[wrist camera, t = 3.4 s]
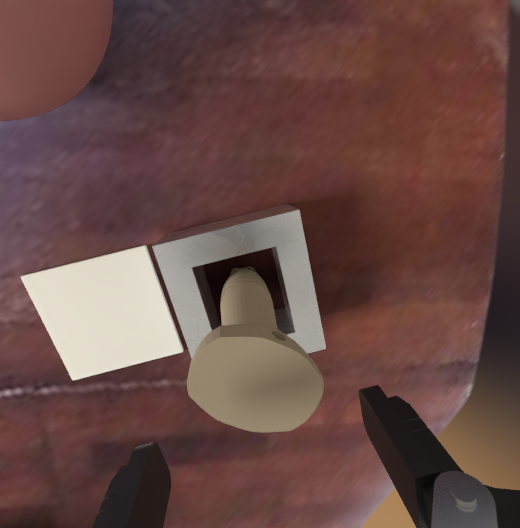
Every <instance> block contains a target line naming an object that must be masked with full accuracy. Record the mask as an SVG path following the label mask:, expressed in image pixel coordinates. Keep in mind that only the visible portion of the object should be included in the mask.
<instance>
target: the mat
mask: <svg viewBox="0 0 520 528" xmlns="http://www.w3.org/2000/svg"><path fill="white" fill-rule="evenodd" d="M21 279H22V281H23V283H24V285H25V287H26V289H27V291H28V293H29V295H30V297H31V299H32V301H33V303H34V305H35V307H36V309H37V311H38V313H39V315H40V317H41V319H42V321H43V323H44V325H45V327H46V329H47V331H48V333H49V335H50V337H51V339H52V341H53V343H54V345H55V347H56V349H57V351H58V353H59V355H60V356H61V358H62V360H63V362H64V364H65V366H66V368H67V370H68V372H69V374H70V376H71V378H72V380H77V379H81V378H84V377H88V376H92V375H96V374H100V373H104V372H108V371H111V370H115V369H119V368H123V367H127V366H131V365H135V364H138V363H142V362H146V361H150V360H154V359H158V358H162V357H166V356H169V355H173V354H177V353H181V352H183V351H184V349H183V346H182V343H181V341H180V338H179V335H178V332H177V329H176V327H175V324H174V321H173V318H172V315H171V313H170V310H169V307H168V304H167V302H166V299H165V296H164V293H163V290H162V288H161V285H160V282H159V279H158V276H157V274H156V271H155V268H154V265H153V262H152V260H151V257H150V254H149V251H148V249H147V246H146V245H143V246H139V247H135V248H131V249H127V250H123V251H119V252H115V253H111V254H107V255H103V256H99V257H95V258H91V259H87V260H83V261H79V262H75V263H71V264H67V265H63V266H59V267H55V268H51V269H47V270H43V271H39V272H35V273H31V274H27V275H23V276H21Z"/></svg>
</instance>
